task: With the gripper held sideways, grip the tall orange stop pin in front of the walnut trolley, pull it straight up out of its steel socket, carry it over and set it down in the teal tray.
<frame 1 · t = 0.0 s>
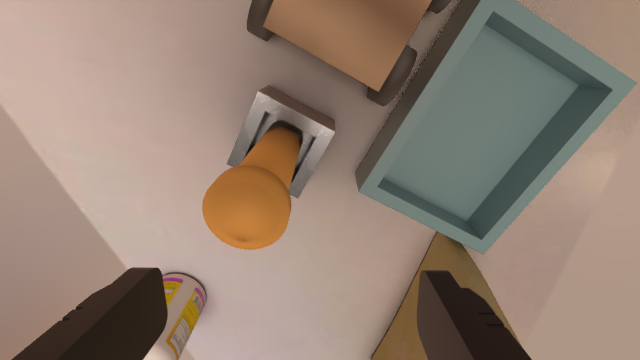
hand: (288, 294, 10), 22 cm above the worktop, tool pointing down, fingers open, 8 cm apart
pin socket: (286, 135, 30), on the worktop
stop pin: (284, 137, 30), point 1 cm above the worktop, touching pin socket
supplement bottle: (182, 291, 39), on the worktop
tray: (464, 129, 30), on the worktop
cheese: (420, 302, 39), on the worktop
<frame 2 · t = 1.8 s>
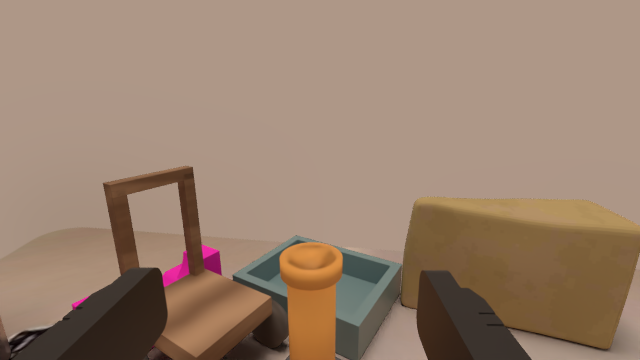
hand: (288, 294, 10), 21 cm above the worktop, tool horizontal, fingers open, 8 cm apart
toy block: (159, 325, 38), on the worktop, touching trolley
tray: (319, 298, 42), on the worktop
cheese: (488, 314, 40), on the worktop
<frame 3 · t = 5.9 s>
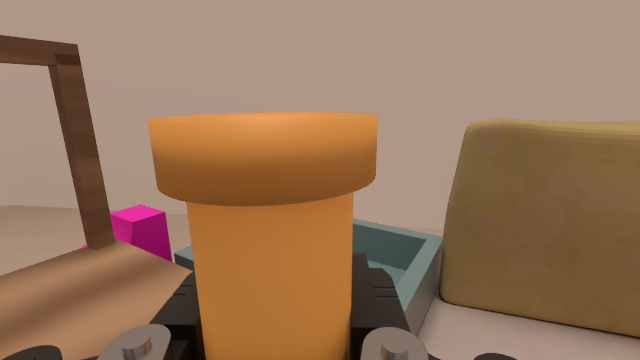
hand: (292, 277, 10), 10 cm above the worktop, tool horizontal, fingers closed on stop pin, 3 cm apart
toy block: (62, 328, 24), on the worktop
tray: (315, 291, 27), on the worktop
cheese: (586, 315, 24), on the worktop
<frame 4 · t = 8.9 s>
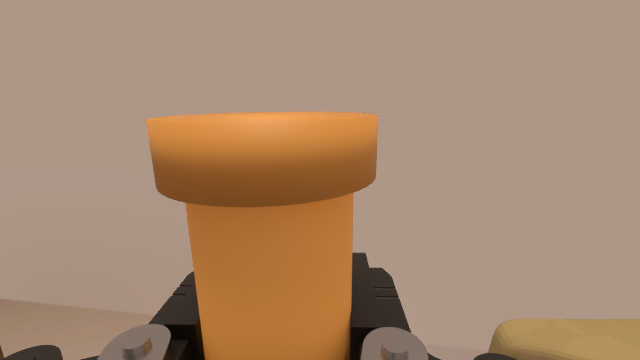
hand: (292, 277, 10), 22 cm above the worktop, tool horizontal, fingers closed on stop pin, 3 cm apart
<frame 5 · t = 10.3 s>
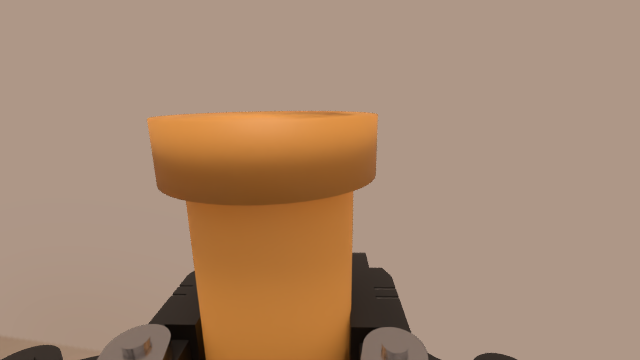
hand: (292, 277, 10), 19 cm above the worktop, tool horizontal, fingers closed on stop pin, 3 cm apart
when the fingers open (12 cm above the worktop, at t = 11.8 s): stop pin drops 2 cm, resting on tray.
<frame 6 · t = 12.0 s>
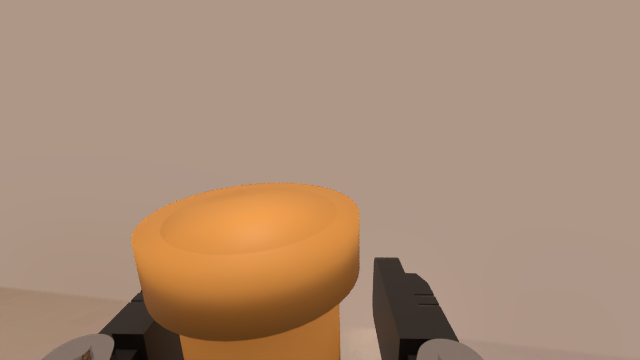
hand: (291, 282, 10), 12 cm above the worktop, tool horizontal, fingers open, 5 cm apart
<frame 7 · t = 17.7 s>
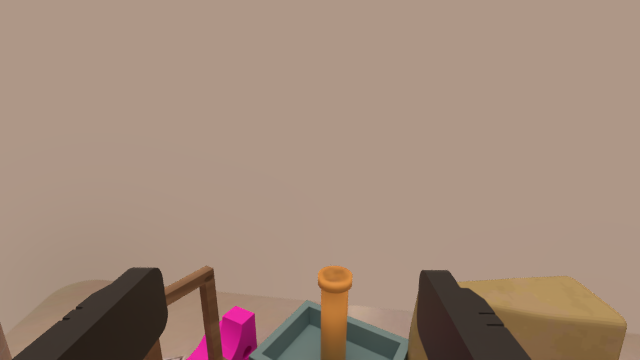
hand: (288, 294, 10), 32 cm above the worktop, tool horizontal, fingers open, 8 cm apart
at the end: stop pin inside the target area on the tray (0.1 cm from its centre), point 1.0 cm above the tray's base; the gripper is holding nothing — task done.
